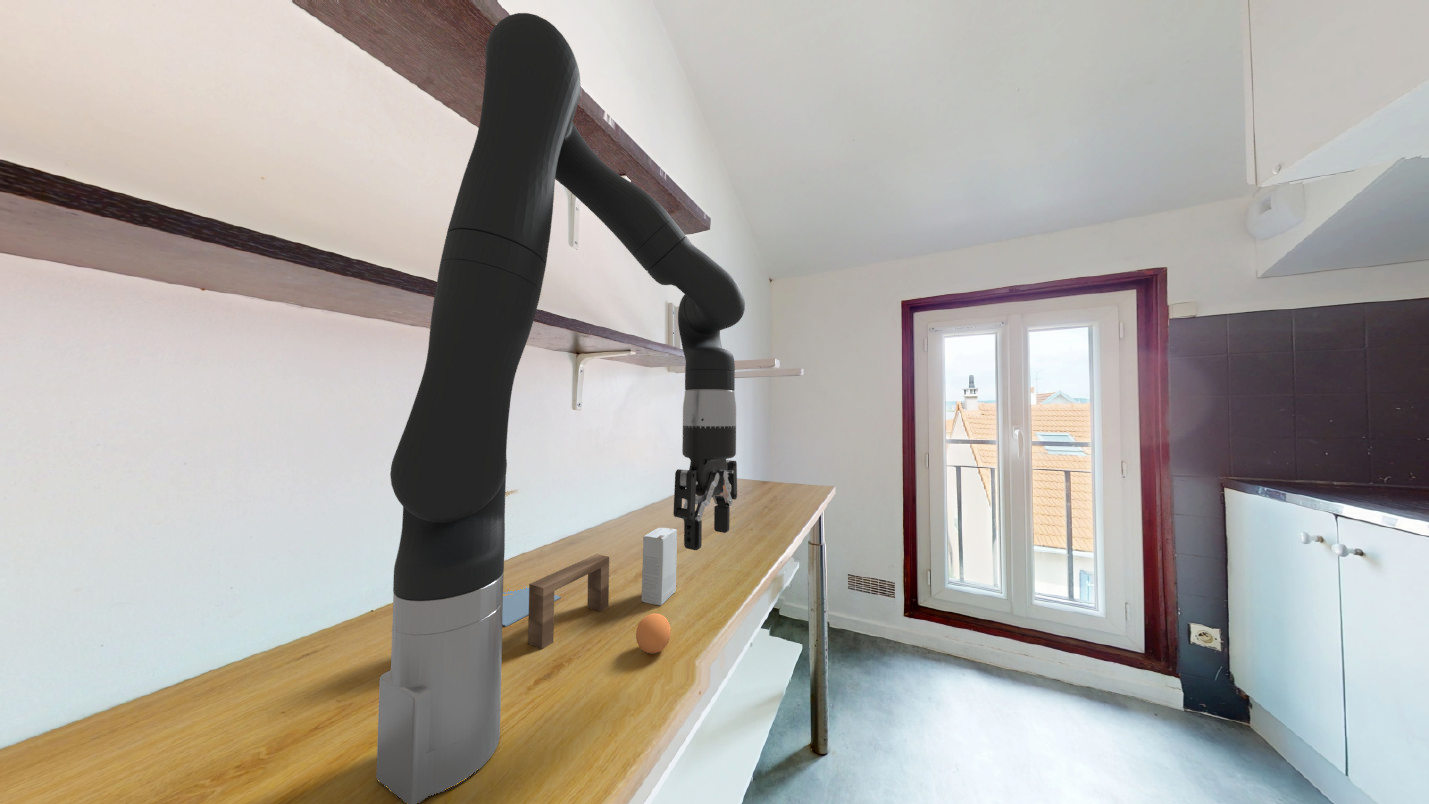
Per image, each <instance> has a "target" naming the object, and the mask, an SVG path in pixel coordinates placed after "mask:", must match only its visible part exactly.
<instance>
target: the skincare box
mask: <svg viewBox="0 0 1429 804" xmlns="http://www.w3.org/2000/svg"><path fill="white" fill-rule="evenodd" d="M642 541H643V544H642V571H641V572H642V573H641V574H642V575H641V577H642V578H641V579H642V580H641V602H643V603H646V604H650V605H655V606H662V605H664V603H666V602H667V600H669V599H670V597H671V596H672V595H674V593H675V592H676V591H677V547H678V546H677V545H678V544H677V543H678V529H677V528H668V527H657V528H655V529H654V530H652V531H651V532H649V533H646V534H645V535H643V539H642Z"/></svg>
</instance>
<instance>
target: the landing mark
mask: <svg viewBox="0 0 1429 804" xmlns="http://www.w3.org/2000/svg"><path fill="white" fill-rule="evenodd" d="M527 587H528V586H526V588H525V589H524V588H523V590H522V589H520V590H517V591H516V590H515V591H514V592H513V591H510V592H509V591H508V592H507V593H506V592H505V591H503V594H513V595H507V596H503V617H502V627H508V626H510V625H512V624H514V623H516V622H518V621H520V620H522V619H524V618H526V617H527V616H529V588H527ZM561 598H562V597H561V596H559V595H556V594H554V602H556V601H557V600H560V599H561Z"/></svg>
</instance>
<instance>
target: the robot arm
mask: <svg viewBox="0 0 1429 804" xmlns="http://www.w3.org/2000/svg"><path fill="white" fill-rule="evenodd" d="M484 55H485V61H484V62H485V73H484V74H485V76H484V86H483V87H484V89H483V96H482V104H481V113H480V120H479V125H478V131H477V135H476V138H475V141H474V143H473V148H472V150H471V153H470V156H469V159H468V161H467V164H466V167H465V171H464V174H463V177H462V179H461V183H460V187H459V190H458V194H457V196H456V200H455V203H454V206H453V210H452V213H451V217H450V221H449V224H448V228H447V232H446V236H445V239H444V244H443V248H442V253H441V258H440V263H439V266H438V267H439V268H438V272H437V273H438V274H437V279H436V280H437V281H436V287H435V291H434V292H435V293H434V297H433V304H432V311H431V319H430V327H429V336H428V337H429V338H428V347H427V348H428V349H427V354H426V355H427V356H426V361H425V365H424V371H423V374H422V376H421V380H420V384H419V386H418V390H417V392H416V395H415V399H414V402H413V405H412V407H411V410H410V413H409V416H408V419H407V422H406V424H405V426H404V430H403V431H402V435H401V437H400V440H399V441H398V445H397V448H396V451H395V453H394V456H393V458H392V462H391V466H390V474H389V475H390V484H391V487H392V490H393V493H394V495H395V497H396V499H397V501H398V502H399V503H400V504H401V505H402V523H401V524H402V526H401V532H400V540H399V544H398V550H397V555H396V558H395V562H394V567H393V584H392V585H393V586H392V589H393V591H392V592H393V596H392V598H393V599H392V626H391V627H392V628H391V652H390V653H391V655H390V670H388V671H385V672H384V673H383V674H381V676H380V677H379V690H378V691H379V692H378V714H377V715H378V719H377V721H378V722H377V745H376V748H377V749H376V750H377V751H376V775H375V776H376V777H375V779H376V778H377V779H378V780H379V781H380V782H381V783H382V784H384V786H383V787H385V786H387V787H388V788H389V789H390V790H391V791H392V792H393V793H394V794H396V795H397V796H398V797H399V798H401V799H402V800H403V801H404V802H405V803H408V804H417V803H419V804H420V803H422V802H423V801H424V800H426V799H427V798H429V797H428V796H430V797H432V796H435V795H436V793H438V794H441V793H443V792H445V791H444V790H445V789H447V788H449V787H451V786H454V785H456V784H457V783H459V782H460V781H462V780H464V779H465V778H468V777H469V776H470V775H472V774H473V773H474V772H475V773H476V771H477V769H479V770H481V768H482V767H484V765H485V764H487V762H488V761H489V760H490V759H491V757H492V756H493V754H494V753H495V751H496V750H497V748H498V745H499V743H500V738H501V711H502V710H501V707H502V706H501V705H502V704H501V702H502V701H501V700H502V698H501V696H502V662H503V661H502V659H503V657H502V656H503V626H502V617H503V592H504V578H505V577H504V573H505V571H504V570H505V550H506V549H505V548H506V543H505V542H506V540H505V539H506V523H505V522H506V520H505V519H506V518H505V516H506V488H507V487H506V483H507V481H506V480H507V467H508V462H507V461H508V460H507V450H508V449H507V448H508V447H507V445H508V432H509V429H508V428H509V417H510V409H511V400H512V393H513V387H514V382H515V377H516V373H517V370H518V368H519V367H518V366H519V364H520V362H521V358H522V356H523V353H524V351H525V347H526V345H527V342H528V340H529V336H530V334H531V330H532V327H533V323H534V321H535V317H536V314H537V310H538V306H539V303H540V302H539V301H540V299H541V294H542V288H543V283H544V280H545V279H544V278H545V273H546V267H547V261H548V254H549V245H550V241H551V240H550V239H551V232H552V231H551V230H552V224H553V223H552V222H553V214H554V213H553V212H554V211H553V210H554V202H555V201H554V200H555V185H556V180H557V181H558V182H559V183H560V184H562V186H564V187H565V188H566V189H567V190H568V191H569V192H570V193H571V194H572V195H574V196H575V197H576V198H577V199H578V200H579V202H581V203H582V204H583V205H584V206H586V207H587V208H588V209H589V210H590V211H591V212H592V213H593V214H594V215H595V216H596V217H597V218H598V219H599V220H600V221H601V223H602V224H604V225H605V226H606V227H607V229H608V230H610V232H612V234H613V235H614V236H615V237H616V238H617V239H618V240H619V241H620V243H622V245H623V246H624V247H625V248H626V249H627V250H628V252H629V253H630V254H631V255H632V257H633V258H634V259H635V260H636V261H637V262H638V264H640V266H641V267H642V268H643V269H644V270H645V271H646V272H647V273H648V274H649V276H650V277H651V278H652V279H653V280H654V281H655V282H656V283H658V284H659V285H662V286H673V287H675V288H677V289H679V291H680V292H681V293H683V294H684V295H683V296H682V298H681V299H680V302H679V306H678V310H677V325H678V326H677V327H678V333H679V337H680V342H681V348H682V351H683V355H684V360H685V367H684V395H683V396H684V397H683V404H682V449H681V450H682V456H684V457H685V458H687V459H689V460H690V462H689V463H690V464H689V468H688V469H676V470H675V472H674V493H673V494H674V495H673V496H674V497H673V514H672V515H673V517H674V518H679V519H682V521H683V528H684V529H683V546H684V548H685V549H686V550H692V551H698V550H700V549H701V548H702V541H703V539H702V538H703V536H702V535H703V534H702V532H703V531H702V529H703V528H702V527H703V526H702V523H703V522H702V517H703V515H704V512H705V508H706V507H708V506H709V505H710V504H711V501H712V500H713V502H714V504H715V506H713V507H714V508H713V510H714V512H713V515H714V516H713V517H714V518H713V519H714V521H713V523H714V524H713V529H714V531H715V532H717V533H721V534H722V533H723V534H726V533H728V532H729V531H730V520H731V519H730V516H731V515H730V513H731V511H730V507H731V506H733V500H737V498H738V468H737V467H738V466H737V465H738V463H737V461H736V460H732V458H734V457H735V456H736V455H737V403H736V395H735V387H736V386H735V385H736V384H735V378H736V377H735V376H736V374H735V371H736V367H735V366H736V365H735V357H734V355H733V353H732V352H731V351H729V350H728V349H725V348H724V347H723V346H722V340H721V335H720V334H721V331H722V330H726V329H729V328H731V327H733V326H735V325H736V324H738V323H739V322H740V321H741V320H742V318H743V316H744V312H745V310H746V308H745V307H746V303H745V302H746V301H745V297H744V293H743V290H742V288H741V287H740V285H739V284H738V282H737V281H736V280H735V277H733V276H732V275H731V274H730V273H729V272H728V271H727V270H726V269H724V268H723V266H721V265H719V263H717V262H716V261H714V260H713V259H712V258H711V257H710V256H708V255H707V253H705V252H703V251H702V250H701V249H699V248H698V247H696V246H695V245H694V244H693V243H692V242H691V240H690V239H689V238H688V237H687V235H686V234H685V233H684V231H683V230H682V228H680V226H679V225H678V224H677V222H676V221H675V220H674V219H673V218H672V216H671V215H670V213H668V211H667V209H666V208H664V207H663V206H662V204H661V203H660V202H658V200H657V199H655V198H654V197H653V196H652V195H650V193H648V192H647V191H645V190H644V189H642V188H641V187H639V186H638V185H636V184H634V183H633V182H631V181H629V180H628V179H626V178H625V177H623V176H622V175H620V174H619V173H617V172H616V171H614V170H613V169H612V168H611V167H610V166H608V165H607V164H606V163H604V161H603V160H602V159H601V158H599V156H598V155H597V154H596V153H595V152H594V150H592V149H591V147H590V146H589V145H588V143H587V142H586V140H585V139H584V137H583V136H582V134H581V133H580V131H579V130H578V129H577V127H576V125H575V124H574V118H575V117H576V116H575V115H576V112H577V109H578V104H579V101H580V98H581V88H582V87H581V86H582V85H581V74H580V69H579V64H578V62H577V59H576V56H575V53H574V51H573V50H572V47H571V46H570V44H569V42H568V41H567V39H566V38H565V36H564V35H563V34H562V33H561V31H560V30H559V29H557V27H556V26H555V25H554V24H553V23H551V22H550V21H549V20H547V19H545V18H543V17H541V16H539V15H537V14H533V13H528V12H518V13H514V14H510V15H508V16H505V17H504V18H502V19H501V20H500V21H498V23H496V25H495V26H494V27H493V29H492V30H491V32H490V33H489V36H488V39H487V42H486V45H485V54H484ZM683 499H684V500H685V501H684V503H683ZM477 772H478V771H477ZM475 773H474V774H475ZM474 774H473V775H474ZM473 775H472V776H473ZM469 778H470V777H469ZM469 778H468V779H469ZM377 779H376V780H377ZM379 781H378V782H379ZM464 781H465V780H464ZM380 782H379V783H380ZM381 783H380V784H381ZM382 784H381V785H382ZM456 786H457V785H456ZM454 787H455V786H454ZM390 790H389V791H390ZM391 791H390V792H391ZM392 792H391V793H392ZM440 792H441V793H440ZM393 793H392V794H393ZM394 794H393V795H394ZM434 794H435V795H434ZM396 795H395V796H396ZM431 795H432V796H431ZM397 796H396V797H397ZM398 797H397V798H398ZM399 798H398V799H399ZM425 798H426V799H425ZM401 799H400V800H401ZM402 800H401V801H402ZM403 801H402V802H403ZM404 802H403V803H404ZM405 803H404V804H405Z"/></svg>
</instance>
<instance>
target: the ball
mask: <svg viewBox="0 0 1429 804" xmlns="http://www.w3.org/2000/svg"><path fill="white" fill-rule="evenodd" d="M671 635H672V629H671V625H670V622H669V621H668V619H667V618H666V617H665V616H664V615H663V614H660V613H650V614H647V615H645V616H644V617H643V618H641V620H640V621H639V623H638V624H637V628H636V632H635V639H636V644H637V645H638V647H639V648H640V649H641V650H642V651H643V652H645V653H646V654H650V655H651V654H658V653H660V652H661V651H663V650H664V649H666V647H667V646H668V644H669V642H670V640H671Z"/></svg>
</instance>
